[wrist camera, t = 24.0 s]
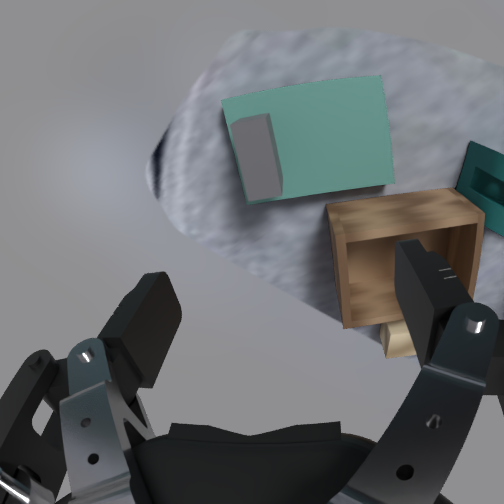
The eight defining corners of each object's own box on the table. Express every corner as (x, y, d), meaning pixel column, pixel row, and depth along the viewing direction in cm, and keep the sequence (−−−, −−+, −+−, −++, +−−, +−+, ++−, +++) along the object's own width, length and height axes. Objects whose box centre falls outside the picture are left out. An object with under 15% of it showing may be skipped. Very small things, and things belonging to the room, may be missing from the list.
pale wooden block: (382, 310, 36) (390, 334, 32) (452, 302, 35) (465, 324, 31) (379, 333, 38) (385, 358, 34) (445, 325, 37) (456, 347, 33)
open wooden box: (452, 187, 28) (485, 213, 22) (447, 268, 32) (471, 304, 26) (325, 204, 31) (335, 235, 25) (335, 287, 35) (343, 329, 29)
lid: (374, 76, 24) (400, 73, 18) (388, 176, 29) (413, 202, 22) (225, 99, 27) (206, 102, 21) (249, 197, 31) (239, 227, 25)
